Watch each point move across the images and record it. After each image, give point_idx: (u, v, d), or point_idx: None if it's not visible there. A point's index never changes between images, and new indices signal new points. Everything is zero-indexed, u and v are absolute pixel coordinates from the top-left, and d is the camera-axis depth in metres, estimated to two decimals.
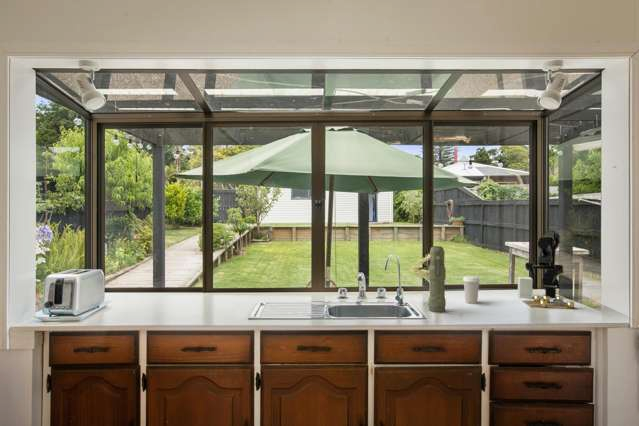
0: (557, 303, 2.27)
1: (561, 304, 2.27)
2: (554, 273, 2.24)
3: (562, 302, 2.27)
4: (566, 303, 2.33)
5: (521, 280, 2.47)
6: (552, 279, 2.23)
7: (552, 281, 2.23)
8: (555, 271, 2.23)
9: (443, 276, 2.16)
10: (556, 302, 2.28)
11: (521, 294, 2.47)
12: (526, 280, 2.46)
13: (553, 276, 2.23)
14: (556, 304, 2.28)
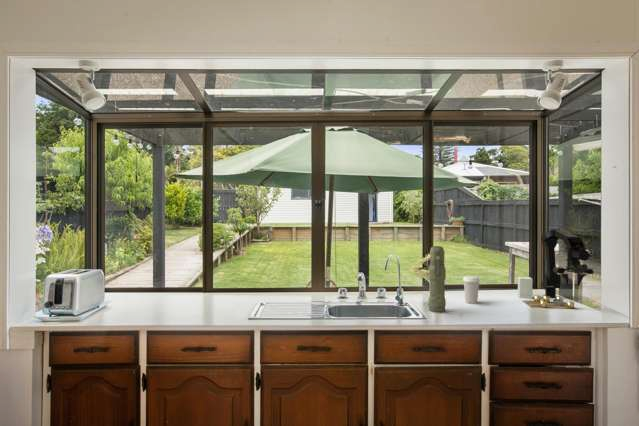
0: (557, 303, 2.27)
1: (561, 304, 2.27)
2: (581, 277, 2.25)
3: (562, 302, 2.27)
4: (566, 303, 2.33)
5: (521, 280, 2.47)
6: (579, 283, 2.26)
7: None
8: (582, 276, 2.25)
9: (443, 276, 2.16)
10: (556, 302, 2.28)
11: (521, 294, 2.47)
12: (526, 280, 2.46)
13: (580, 280, 2.26)
14: (556, 304, 2.28)
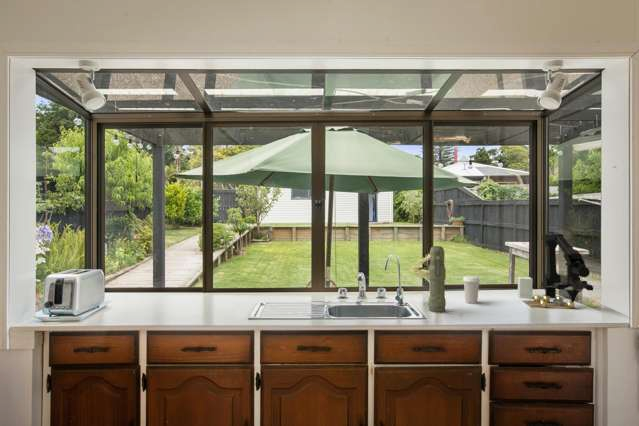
0: (557, 303, 2.27)
1: (561, 304, 2.27)
2: (576, 293, 2.26)
3: (562, 302, 2.27)
4: (566, 303, 2.33)
5: (521, 280, 2.47)
6: (573, 299, 2.27)
7: (573, 301, 2.27)
8: (577, 292, 2.25)
9: (443, 276, 2.16)
10: (556, 302, 2.28)
11: (521, 294, 2.47)
12: (526, 280, 2.46)
13: (574, 296, 2.27)
14: (556, 304, 2.28)
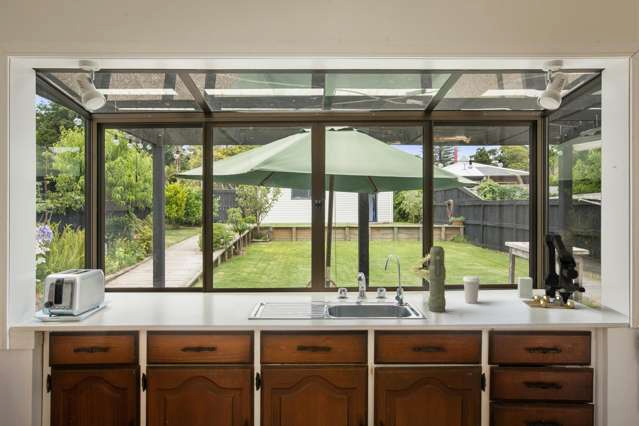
0: (557, 303, 2.27)
1: (561, 304, 2.27)
2: (568, 295, 2.27)
3: (562, 302, 2.27)
4: (566, 303, 2.33)
5: (521, 280, 2.47)
6: (566, 301, 2.28)
7: None
8: (569, 294, 2.26)
9: (443, 276, 2.16)
10: (556, 302, 2.28)
11: (521, 294, 2.47)
12: (526, 280, 2.46)
13: (567, 298, 2.27)
14: (556, 304, 2.28)
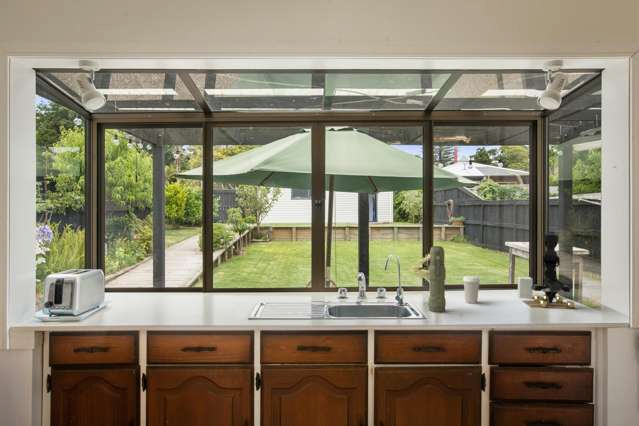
0: None
1: None
2: (553, 295, 2.28)
3: (547, 301, 2.28)
4: (566, 303, 2.33)
5: (521, 280, 2.47)
6: (551, 300, 2.29)
7: (551, 302, 2.29)
8: (554, 293, 2.27)
9: (443, 276, 2.16)
10: None
11: (521, 294, 2.47)
12: (526, 280, 2.46)
13: (552, 297, 2.29)
14: None
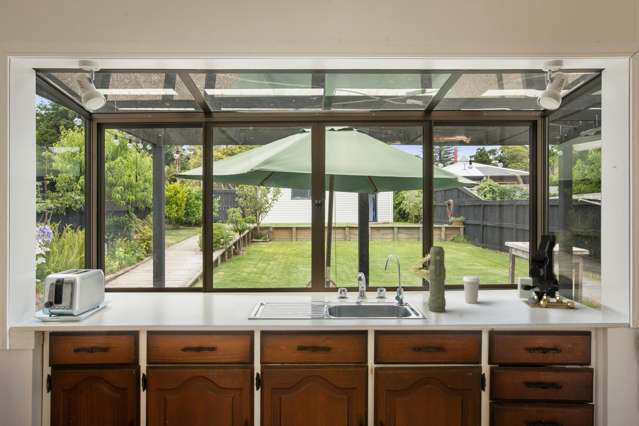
0: (532, 302, 2.30)
1: (535, 303, 2.29)
2: (542, 294, 2.29)
3: (536, 301, 2.29)
4: (566, 303, 2.33)
5: (521, 280, 2.47)
6: None
7: None
8: (543, 293, 2.28)
9: (443, 276, 2.16)
10: (531, 301, 2.30)
11: (521, 294, 2.47)
12: (526, 280, 2.46)
13: (541, 297, 2.30)
14: (531, 303, 2.30)
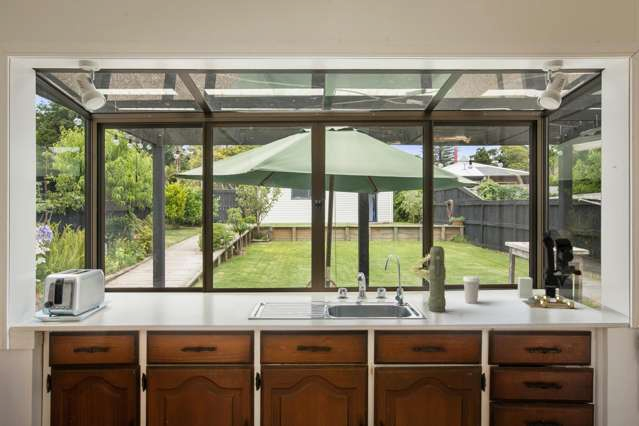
0: (532, 302, 2.30)
1: (535, 303, 2.29)
2: (564, 278, 2.29)
3: (536, 301, 2.29)
4: (566, 303, 2.33)
5: (521, 280, 2.47)
6: (562, 284, 2.30)
7: (562, 286, 2.30)
8: (565, 277, 2.28)
9: (443, 276, 2.16)
10: (531, 301, 2.30)
11: (521, 294, 2.47)
12: (526, 280, 2.46)
13: (563, 281, 2.30)
14: (531, 303, 2.30)
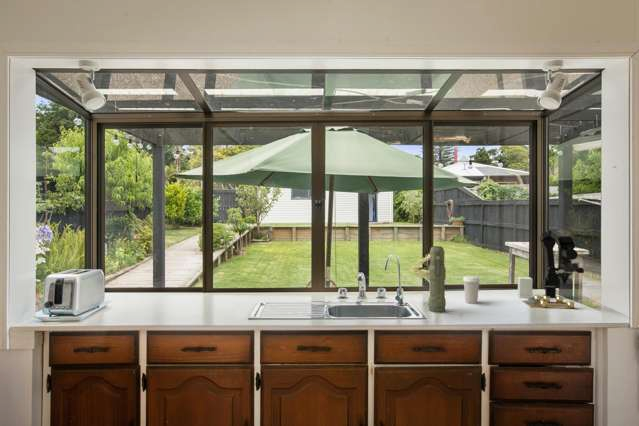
0: (532, 302, 2.30)
1: (535, 303, 2.29)
2: (567, 276, 2.29)
3: (536, 301, 2.29)
4: (566, 303, 2.33)
5: (521, 280, 2.47)
6: (565, 282, 2.30)
7: None
8: (568, 275, 2.29)
9: (443, 276, 2.16)
10: (531, 301, 2.30)
11: (521, 294, 2.47)
12: (526, 280, 2.46)
13: (566, 279, 2.30)
14: (531, 303, 2.30)
